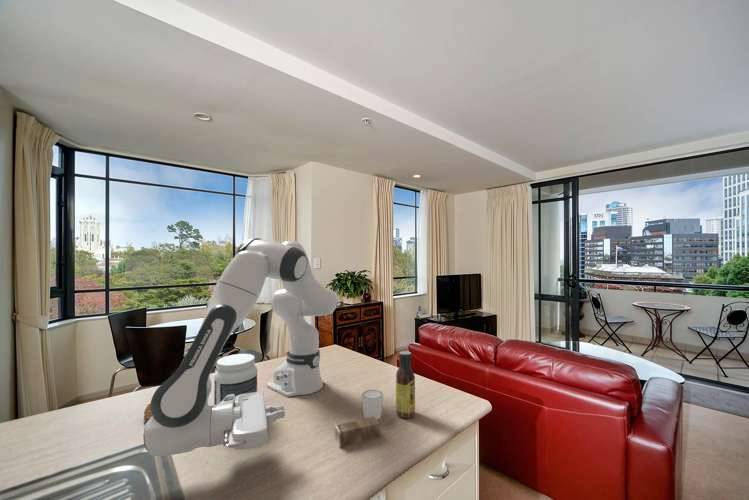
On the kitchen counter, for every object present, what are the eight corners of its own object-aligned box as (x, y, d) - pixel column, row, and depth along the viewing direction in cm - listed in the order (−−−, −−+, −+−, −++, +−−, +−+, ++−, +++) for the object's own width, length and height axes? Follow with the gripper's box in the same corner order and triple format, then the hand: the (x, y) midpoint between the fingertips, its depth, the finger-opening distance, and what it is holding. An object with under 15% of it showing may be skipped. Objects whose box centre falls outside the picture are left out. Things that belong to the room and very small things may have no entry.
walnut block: (339, 432, 83) (379, 423, 88) (335, 425, 87) (374, 416, 92) (339, 447, 83) (379, 437, 88) (335, 439, 87) (374, 429, 92)
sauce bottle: (414, 420, 97) (414, 356, 97) (394, 418, 98) (394, 355, 98) (415, 409, 103) (415, 350, 103) (397, 408, 104) (397, 349, 105)
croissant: (153, 407, 106) (153, 392, 107) (175, 404, 108) (175, 390, 108) (134, 428, 93) (135, 411, 94) (160, 425, 95) (160, 408, 95)
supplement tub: (265, 410, 103) (266, 355, 103) (233, 431, 91) (233, 368, 92) (238, 403, 108) (238, 350, 109) (204, 421, 97) (204, 362, 97)
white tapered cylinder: (385, 412, 102) (385, 391, 102) (379, 423, 95) (379, 400, 95) (366, 408, 104) (366, 388, 104) (358, 419, 98) (358, 397, 98)
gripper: (222, 434, 66) (289, 419, 71) (228, 392, 84) (280, 383, 90) (222, 463, 66) (289, 447, 71) (228, 414, 85) (280, 404, 90)
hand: (284, 411), depth 80 cm, fingers closed
